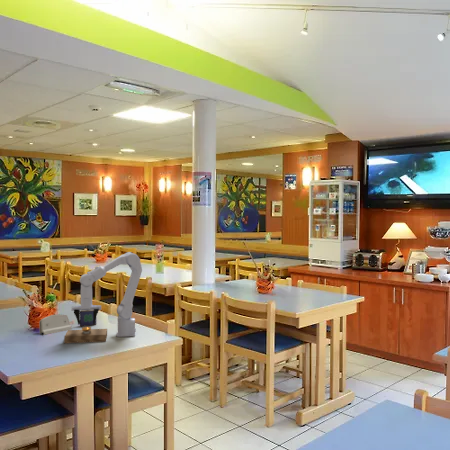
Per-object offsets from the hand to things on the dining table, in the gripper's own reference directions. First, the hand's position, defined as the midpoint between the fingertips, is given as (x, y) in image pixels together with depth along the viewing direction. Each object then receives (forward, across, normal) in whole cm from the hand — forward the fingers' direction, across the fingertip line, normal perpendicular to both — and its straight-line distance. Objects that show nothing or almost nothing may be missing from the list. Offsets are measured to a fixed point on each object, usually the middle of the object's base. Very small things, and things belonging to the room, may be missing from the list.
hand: (86, 323), depth 234 cm
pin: (+8, 0, 0) cm, 8 cm away
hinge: (+8, +19, -20) cm, 28 cm away
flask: (+8, +2, -29) cm, 30 cm away
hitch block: (+8, 0, 0) cm, 8 cm away
